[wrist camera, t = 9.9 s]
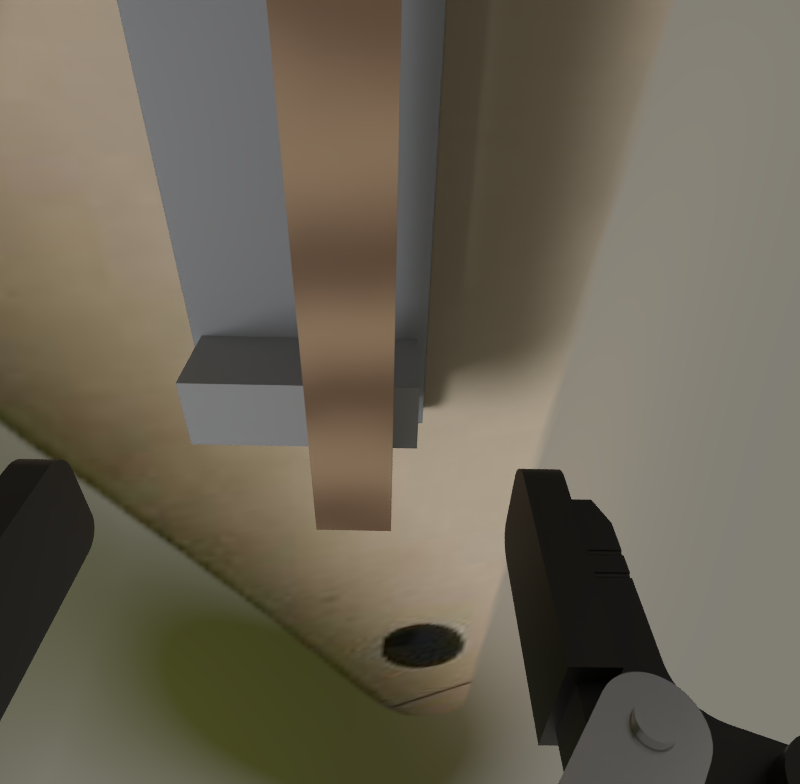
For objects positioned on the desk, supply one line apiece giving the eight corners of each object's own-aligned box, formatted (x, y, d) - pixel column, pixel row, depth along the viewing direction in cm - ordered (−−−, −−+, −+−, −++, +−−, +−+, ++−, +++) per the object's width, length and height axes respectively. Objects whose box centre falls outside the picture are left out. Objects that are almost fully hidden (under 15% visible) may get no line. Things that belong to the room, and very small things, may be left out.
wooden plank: (270, -358, 15) (220, -476, 11) (409, -353, 15) (411, -470, 11) (327, 456, 31) (316, 529, 27) (392, 458, 31) (390, 530, 27)
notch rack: (63, -319, 19) (-146, -492, 12) (460, -308, 19) (495, -470, 12) (217, 404, 37) (172, 512, 30) (421, 408, 37) (425, 516, 30)
